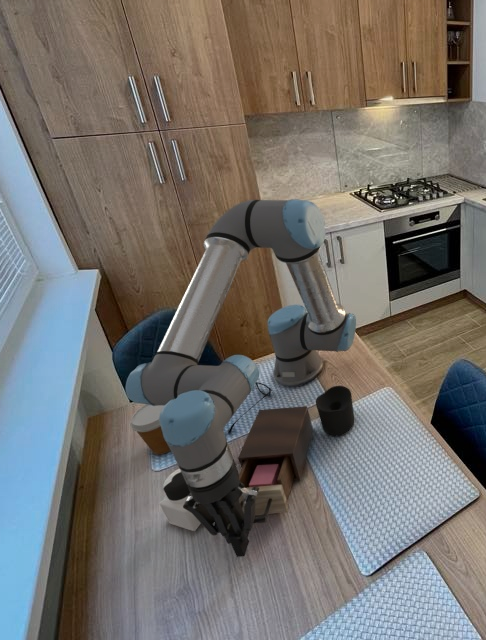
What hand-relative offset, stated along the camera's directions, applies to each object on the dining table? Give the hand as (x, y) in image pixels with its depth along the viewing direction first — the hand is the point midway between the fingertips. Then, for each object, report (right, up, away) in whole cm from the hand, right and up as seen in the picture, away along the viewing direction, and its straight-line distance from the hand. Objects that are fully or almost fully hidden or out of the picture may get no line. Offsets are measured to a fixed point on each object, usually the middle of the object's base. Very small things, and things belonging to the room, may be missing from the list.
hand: (243, 549), depth 81 cm
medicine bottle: (-17, 0, +11) cm, 20 cm away
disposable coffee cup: (-35, +8, +28) cm, 46 cm away
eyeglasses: (-22, +14, +40) cm, 48 cm away
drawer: (-1, +3, +13) cm, 14 cm away
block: (-1, +4, +14) cm, 14 cm away
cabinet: (-2, +7, +24) cm, 25 cm away
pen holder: (+10, +11, +33) cm, 36 cm away
